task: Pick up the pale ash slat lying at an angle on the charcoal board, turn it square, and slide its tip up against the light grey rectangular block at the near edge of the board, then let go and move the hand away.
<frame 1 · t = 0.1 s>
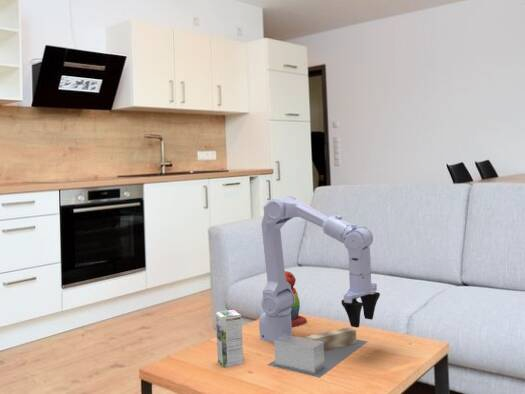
hand: (362, 322, 136), 10 cm above the table, tool pointing down, fingers open, 7 cm apart
grey rectangular block: (299, 366, 132), resting on board
syrup box: (231, 366, 137), on the table
board: (319, 356, 140), on the table
stacking bear: (287, 323, 170), on the table
slat: (326, 347, 143), point 1 cm above the table, touching board
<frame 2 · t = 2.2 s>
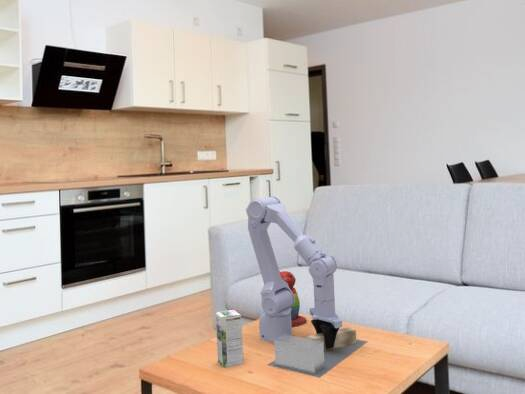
hand: (326, 345, 143), 2 cm above the table, tool pointing down, fingers closed on slat, 3 cm apart
slat: (326, 347, 143), point 1 cm above the table, touching board, gripper
everything else where it was.
when the fingers open (2 cm above the table, at t = 7.6 s): slat stays where it is, resting on board.
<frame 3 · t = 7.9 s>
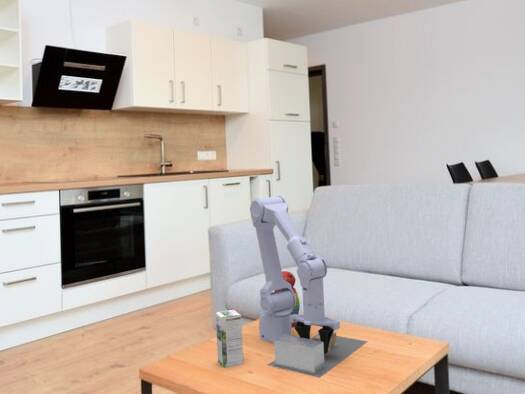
hand: (315, 351, 138), 2 cm above the table, tool pointing down, fingers open, 5 cm apart
slat: (316, 354, 138), point 1 cm above the table, touching board
everything else where it was.
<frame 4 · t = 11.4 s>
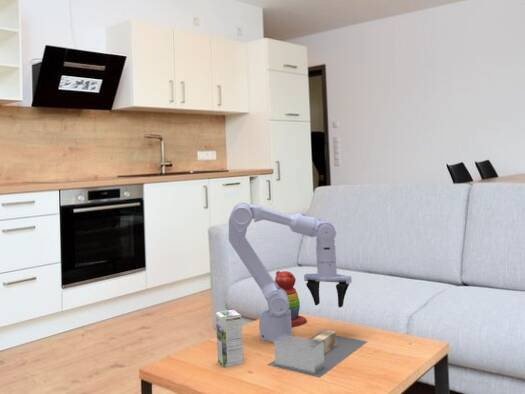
hand: (328, 305, 152), 10 cm above the table, tool pointing down, fingers open, 7 cm apart
nothing on the table moved.
at the end: slat 0.2 cm from the target spot on the table beside the grey rectangular block, resting on board; slat tilted 0°; the gripper is holding nothing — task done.
